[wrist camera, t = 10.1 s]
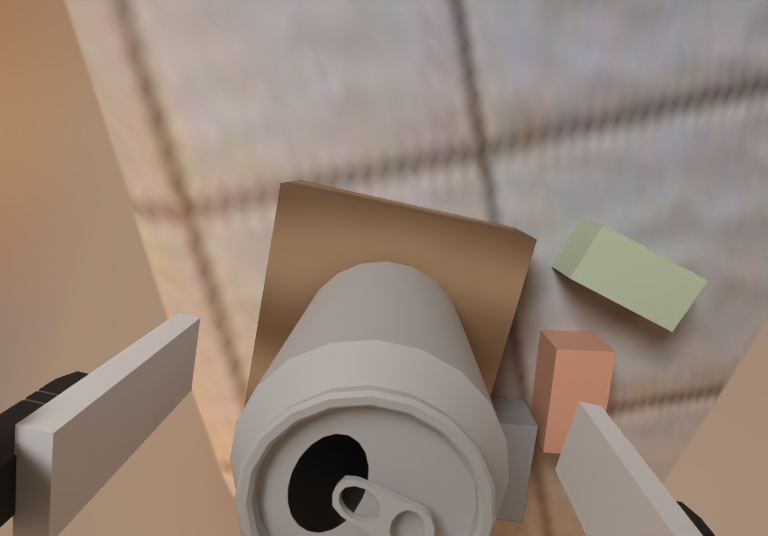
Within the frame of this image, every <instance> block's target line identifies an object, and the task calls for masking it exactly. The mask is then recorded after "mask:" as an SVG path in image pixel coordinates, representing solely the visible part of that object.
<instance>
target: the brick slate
mask: <svg viewBox="0 0 768 536" xmlns="http://www.w3.org/2000/svg"><path fill="white" fill-rule="evenodd" d="M490 399H491V401H492V404H493V407H494V409H495V412H496V414H497V417H498V420H499V422H500V425H501V427H502V430H503V433H504V435H505V438H506V440H507V453H508V474H509V482H508V485H507V488H506V491H505V494H504V497H503V500H502V503H501V506H500V510H499V513H498V516H497V518H496V520H508V521H520V522H523V516H524V509H525V503H526V497H527V491H528V484H529V478H530V472H531V466H532V459H533V453H534V447H535V441H536V434H537V428H538V426H537V424H536V422H535V420H534V418H533V416H532V414H531V413H530V411H529V409H528V407H527V405H526V403H525V401H524V400H520V399H507V398H494V397H490Z"/></svg>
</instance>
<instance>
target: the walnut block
mask: <svg viewBox="0 0 768 536" xmlns="http://www.w3.org/2000/svg"><path fill="white" fill-rule="evenodd" d="M536 241H537V240H536V239H535V238H533V237H531V236H529V235H527V234H525V233H524V232H522V231H520V230H518V229H516V228H513V227H509V226H504V225H500V224H495V223H491V222H486V221H482V220H477V219H473V218H468V217H464V216H459V215H455V214H450V213H446V212H441V211H436V210H432V209H427V208H423V207H418V206H414V205H409V204H405V203H400V202H396V201H391V200H387V199H382V198H378V197H373V196H369V195H364V194H360V193H355V192H351V191H346V190H341V189H337V188H332V187H328V186H323V185H319V184H314V183H310V182H305V181H301V180H298V181H292V182H285V183H281V185H280V191H279V198H278V204H277V210H276V216H275V222H274V228H273V234H272V241H271V247H270V253H269V259H268V265H267V271H266V277H265V284H264V290H263V296H262V302H261V308H260V314H259V321H258V327H257V333H256V339H255V345H254V351H253V357H252V364H251V370H250V376H249V382H248V388H247V394H246V400H245V406H246V404H247V402H248V401H249V399H250V397H251V395H252V394H253V392H254V390H255V388H256V387H257V385H258V384H259V382H260V381H261V379H262V377H263V376H264V374H265V373H266V371H267V370H268V368H269V367H270V365H271V363H272V362H273V360H274V359H275V357H276V356H277V354H278V353H279V351H280V349H281V348H282V346H283V345H284V343H285V342H286V340H287V339H288V337H289V336H290V334H291V332H292V331H293V329H294V328H295V326H296V325H297V323H298V322H299V320H300V318H301V317H302V315H303V314H304V312H305V311H306V309H307V308H308V306H309V304H310V303H311V301H312V300H313V298H314V297H315V295H316V294H317V292H318V290H319V289H320V288H322V287H323V286H324V285H325V284H326V283H327V282H328V281H330V280H331V279H332V278H333V277H334V276H335V275H336V274H338V273H340V272H342V271H345V270H347V269H349V268H352V267H354V266H356V265H359V264H362V263H373V262H384V261H388V262H392V263H397V264H401V265H406V266H410V267H413V268H415V269H417V270H418V271H420V272H422V273H424V274H425V275H427V276H429V277H430V278H432V279H434V280H435V281H436V282H437V283H438V284H439V285H440V287H441V288H442V289H443V290H444V291H445V292H446V293H447V294H448V296H449V297H450V298H451V299H452V302H453V304H454V306H455V309H456V311H457V314H458V316H459V318H460V321H461V323H462V326H463V328H464V331H465V334H466V336H467V339H468V341H469V344H470V347H471V349H472V352H473V354H474V357H475V360H476V362H477V365H478V367H479V370H480V373H481V375H482V378H483V380H484V383H485V386H486V388H487V391H488V393H489V396H491V393H492V389H493V386H494V382H495V379H496V376H497V372H498V369H499V366H500V362H501V359H502V355H503V352H504V349H505V345H506V342H507V339H508V335H509V332H510V328H511V325H512V322H513V318H514V315H515V312H516V308H517V305H518V301H519V298H520V295H521V291H522V288H523V284H524V281H525V278H526V274H527V271H528V268H529V264H530V261H531V257H532V254H533V251H534V247H535V244H536ZM244 408H245V407H244Z"/></svg>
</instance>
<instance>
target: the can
mask: <svg viewBox="0 0 768 536" xmlns="http://www.w3.org/2000/svg"><path fill="white" fill-rule="evenodd" d="M230 462H231V468H232V473H233V478H234V483H235V488H236V493H235V499H234V501H235V506H236V511H237V516H238V521H239V526H240V531H241V535H242V536H491V535H492V531H493V528H494V525H495V522H496V518H497V516H498V513H499V510H500V506H501V503H502V500H503V497H504V494H505V491H506V488H507V485H508V482H509V474H508V453H507V440H506V438H505V435H504V433H503V430H502V427H501V425H500V422H499V420H498V417H497V414H496V412H495V409H494V407H493V404H492V401H491V399H490V396H489V393H488V391H487V388H486V386H485V383H484V380H483V378H482V375H481V373H480V370H479V367H478V365H477V362H476V360H475V357H474V354H473V352H472V349H471V347H470V344H469V341H468V339H467V336H466V334H465V331H464V328H463V326H462V323H461V321H460V318H459V316H458V314H457V311H456V309H455V306H454V304H453V302H452V299H451V298H450V297H449V296H448V294H447V293H446V292H445V291H444V290H443V289H442V288H441V287H440V285H439V284H438V283H437V282H436V281H435V280H434V279H432V278H430V277H429V276H427V275H425V274H424V273H422V272H420V271H418V270H417V269H415V268H413V267H410V266H406V265H401V264H397V263H392V262H388V261H384V262H373V263H362V264H359V265H356V266H354V267H352V268H349V269H347V270H345V271H342V272H340V273H338V274H336V275H335V276H334V277H333V278H332V279H331V280H330V281H328V282H327V283H326V284H325V285H324V286H323V287H322V288H320V289H319V290H318V292H317V294H316V295H315V297H314V298H313V300H312V301H311V303H310V304H309V306H308V308H307V309H306V311H305V312H304V314H303V315H302V317H301V318H300V320H299V322H298V323H297V325H296V326H295V328H294V329H293V331H292V332H291V334H290V336H289V337H288V339H287V340H286V342H285V343H284V345H283V346H282V348H281V349H280V351H279V353H278V354H277V356H276V357H275V359H274V360H273V362H272V363H271V365H270V367H269V368H268V370H267V371H266V373H265V374H264V376H263V377H262V379H261V381H260V382H259V384H258V385H257V387H256V388H255V390H254V392H253V394H252V395H251V397H250V399H249V401H248V402H247V404H246V406H245V408H244V410H243V411H242V413H241V415H240V417H239V418H238V420H237V422H236V427H235V433H234V439H233V445H232V452H231V458H230Z"/></svg>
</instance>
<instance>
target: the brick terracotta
mask: <svg viewBox="0 0 768 536" xmlns="http://www.w3.org/2000/svg"><path fill="white" fill-rule="evenodd" d="M615 356H616V352H615V351H614V350H613V349H612V348H611V347H610V346H608V345H607V344H606V343H605V342H604V341H603V340H602V339H600V338H599V337H598V336H597V335H596V334H595V333H594V332H574V331H553V330H541V331H540V339H539V348H538V356H537V364H536V372H535V381H534V389H533V397H532V405H531V414H532V416H533V418H534V420H535V422H536V424H537V426H538V428H537V434H536V439H537V441H538V443H539V445H540V447H541V449H542V451H543V453H557V454H561V451H562V448H563V446H564V443H565V440H566V437H567V434H568V432H569V429H570V426H571V423H572V420H573V418H574V415H575V412H576V409H577V406H578V404H579V401H581V402H585V403H590V404H594V405H599V406H602V408H603V409H604V410H605V411H607V405H608V399H609V393H610V387H611V381H612V374H613V368H614V362H615Z"/></svg>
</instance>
